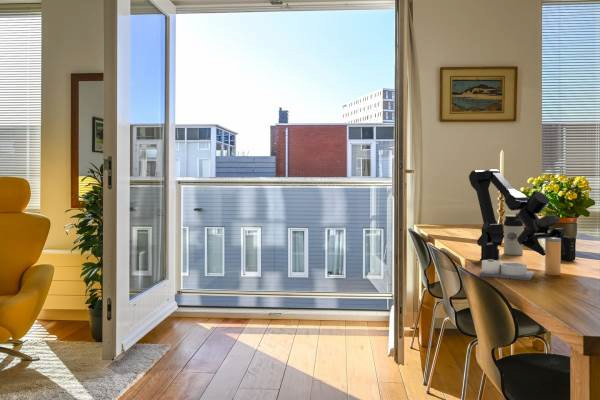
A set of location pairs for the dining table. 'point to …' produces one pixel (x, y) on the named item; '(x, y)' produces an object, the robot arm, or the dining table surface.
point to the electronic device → (569, 248)
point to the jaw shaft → (552, 256)
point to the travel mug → (512, 235)
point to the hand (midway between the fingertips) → (554, 254)
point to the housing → (505, 270)
